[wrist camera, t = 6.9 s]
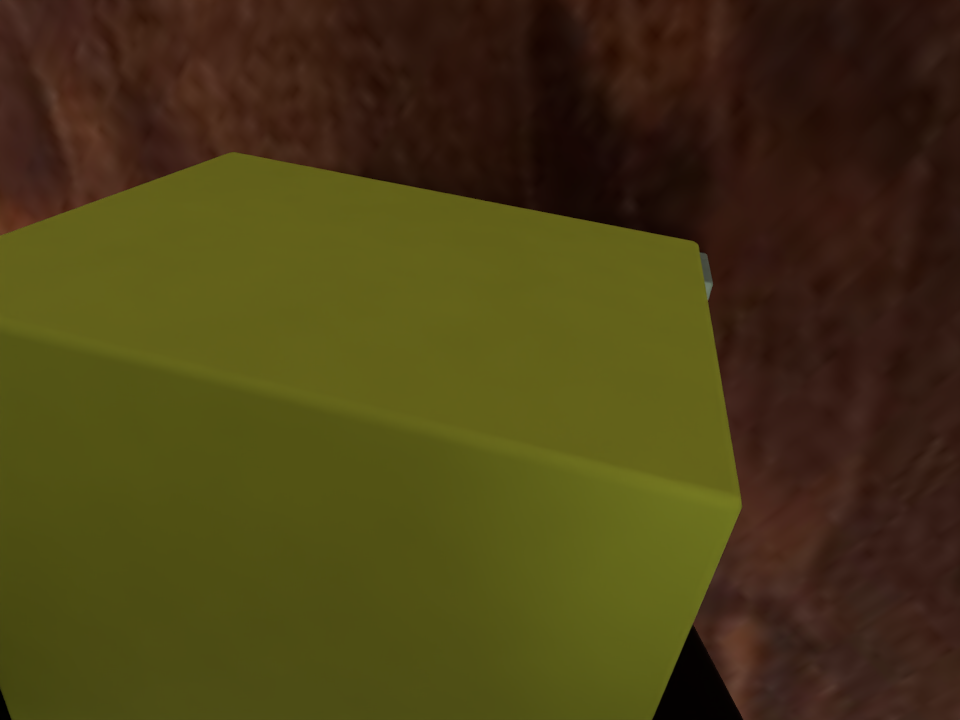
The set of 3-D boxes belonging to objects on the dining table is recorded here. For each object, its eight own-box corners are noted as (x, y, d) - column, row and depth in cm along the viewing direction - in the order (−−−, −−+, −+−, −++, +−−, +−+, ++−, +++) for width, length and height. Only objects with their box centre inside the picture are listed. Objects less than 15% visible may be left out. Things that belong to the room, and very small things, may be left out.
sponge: (700, 240, 7) (748, 506, 3) (565, 686, 10) (516, 1045, 7) (230, 149, 7) (-154, 285, 4) (255, 596, 11) (65, 880, 7)
